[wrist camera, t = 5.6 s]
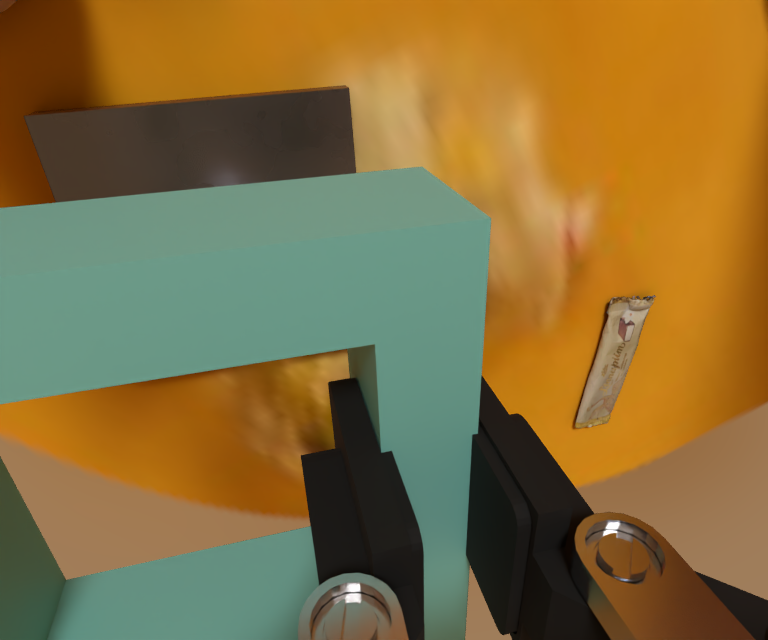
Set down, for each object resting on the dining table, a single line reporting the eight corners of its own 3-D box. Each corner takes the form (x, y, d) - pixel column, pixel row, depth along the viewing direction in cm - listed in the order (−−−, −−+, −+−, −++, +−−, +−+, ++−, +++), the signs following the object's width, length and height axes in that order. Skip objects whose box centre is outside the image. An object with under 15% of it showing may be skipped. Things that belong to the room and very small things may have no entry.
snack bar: (613, 422, 35) (583, 437, 34) (595, 410, 36) (565, 423, 35) (659, 295, 30) (626, 305, 29) (636, 284, 32) (604, 294, 30)
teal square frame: (421, 166, 9) (490, 218, 7) (423, 542, 14) (464, 656, 12) (-256, 233, 7) (-515, 339, 5) (15, 639, 12) (-44, 798, 10)
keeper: (345, 85, 22) (391, 115, 15) (366, 331, 28) (407, 441, 21) (33, 112, 20) (-94, 162, 13) (128, 370, 26) (79, 506, 19)
